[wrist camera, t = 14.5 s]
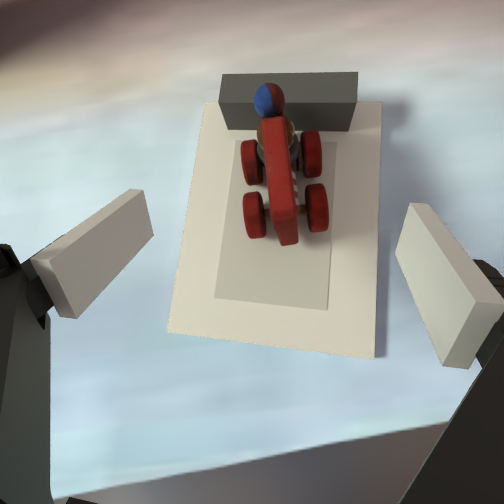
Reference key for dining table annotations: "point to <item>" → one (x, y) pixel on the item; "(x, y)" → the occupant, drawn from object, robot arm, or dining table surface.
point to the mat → (282, 248)
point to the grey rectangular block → (292, 99)
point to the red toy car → (281, 172)
